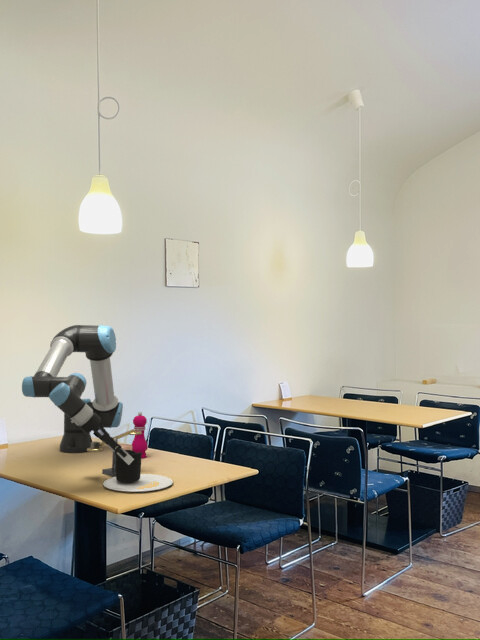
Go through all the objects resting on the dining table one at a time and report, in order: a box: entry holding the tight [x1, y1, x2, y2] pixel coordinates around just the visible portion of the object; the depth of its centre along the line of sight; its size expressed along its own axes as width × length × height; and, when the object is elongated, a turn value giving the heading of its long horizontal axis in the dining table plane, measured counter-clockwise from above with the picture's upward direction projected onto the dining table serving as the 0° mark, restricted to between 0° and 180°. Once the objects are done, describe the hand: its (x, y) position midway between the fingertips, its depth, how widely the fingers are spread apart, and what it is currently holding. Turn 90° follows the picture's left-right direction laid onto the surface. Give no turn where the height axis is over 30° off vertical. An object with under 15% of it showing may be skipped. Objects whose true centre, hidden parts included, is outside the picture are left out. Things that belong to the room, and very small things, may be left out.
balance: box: [87, 428, 142, 478], centre depth 231 cm, size 8×23×16 cm, turn 134°
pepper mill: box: [131, 411, 149, 460], centre depth 262 cm, size 7×7×20 cm
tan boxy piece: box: [118, 443, 132, 450], centre depth 241 cm, size 8×8×9 cm
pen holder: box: [116, 450, 142, 482], centre depth 218 cm, size 9×9×10 cm
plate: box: [102, 473, 174, 493], centre depth 215 cm, size 25×25×2 cm
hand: (126, 458), depth 218 cm, fingers open, 13 cm apart
